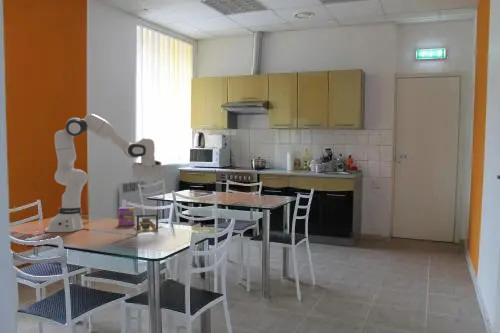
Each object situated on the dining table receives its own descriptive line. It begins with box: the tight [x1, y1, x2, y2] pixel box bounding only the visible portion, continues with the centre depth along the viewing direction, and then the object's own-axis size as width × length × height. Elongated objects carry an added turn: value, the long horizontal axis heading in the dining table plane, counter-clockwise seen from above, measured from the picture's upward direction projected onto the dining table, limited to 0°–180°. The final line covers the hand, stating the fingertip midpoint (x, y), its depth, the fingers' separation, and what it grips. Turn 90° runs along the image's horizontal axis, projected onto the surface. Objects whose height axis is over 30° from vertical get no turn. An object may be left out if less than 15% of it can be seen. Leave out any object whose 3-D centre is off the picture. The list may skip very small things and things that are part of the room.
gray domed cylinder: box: [141, 217, 151, 228], centre depth 283 cm, size 5×5×6 cm
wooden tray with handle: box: [133, 213, 159, 233], centre depth 283 cm, size 13×16×11 cm
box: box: [117, 206, 136, 226], centre depth 298 cm, size 10×6×12 cm, turn 97°
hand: (147, 182), depth 294 cm, fingers open, 8 cm apart
